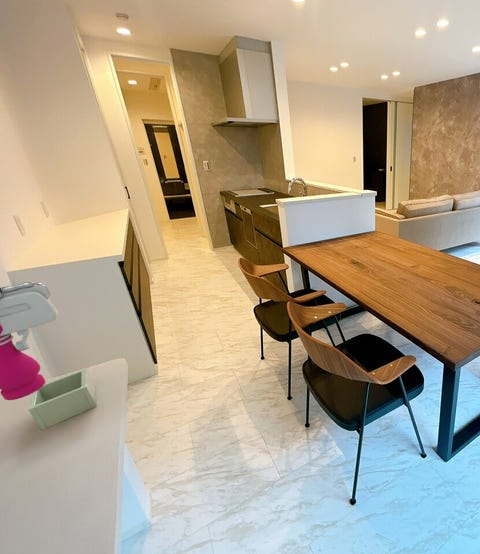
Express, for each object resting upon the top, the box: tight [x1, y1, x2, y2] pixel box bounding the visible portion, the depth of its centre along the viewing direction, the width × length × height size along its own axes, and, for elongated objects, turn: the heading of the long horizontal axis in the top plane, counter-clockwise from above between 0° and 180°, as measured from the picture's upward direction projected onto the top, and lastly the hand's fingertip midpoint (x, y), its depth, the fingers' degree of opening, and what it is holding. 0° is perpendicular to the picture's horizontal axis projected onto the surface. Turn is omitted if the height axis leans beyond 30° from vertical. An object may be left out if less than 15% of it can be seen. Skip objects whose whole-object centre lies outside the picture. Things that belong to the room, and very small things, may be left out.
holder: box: [28, 368, 98, 431], centre depth 83 cm, size 11×11×7 cm
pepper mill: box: [0, 325, 47, 401], centre depth 61 cm, size 7×7×20 cm
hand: (3, 355), depth 61 cm, fingers closed on pepper mill, 4 cm apart
